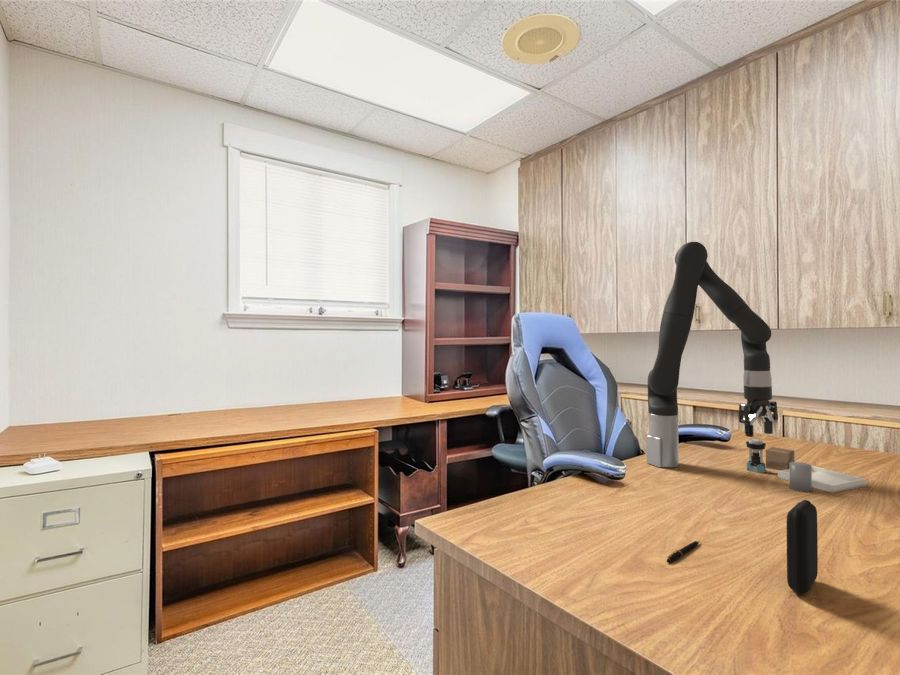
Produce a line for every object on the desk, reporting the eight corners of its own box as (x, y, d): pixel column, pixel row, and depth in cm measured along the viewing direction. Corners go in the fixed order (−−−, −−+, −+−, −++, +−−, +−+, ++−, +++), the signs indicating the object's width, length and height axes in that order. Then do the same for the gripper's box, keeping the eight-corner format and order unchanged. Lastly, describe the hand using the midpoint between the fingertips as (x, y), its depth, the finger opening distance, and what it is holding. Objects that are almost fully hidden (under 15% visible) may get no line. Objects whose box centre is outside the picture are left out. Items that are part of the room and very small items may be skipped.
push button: (772, 471, 148) (772, 440, 148) (769, 475, 144) (769, 443, 144) (747, 467, 152) (747, 437, 152) (744, 471, 148) (744, 440, 148)
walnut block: (787, 472, 147) (787, 453, 147) (765, 467, 152) (765, 449, 152) (794, 468, 151) (794, 450, 151) (773, 464, 156) (773, 446, 156)
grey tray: (832, 492, 128) (832, 485, 128) (777, 477, 142) (777, 470, 142) (866, 486, 133) (866, 479, 133) (810, 471, 147) (810, 465, 147)
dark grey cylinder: (803, 492, 128) (803, 467, 128) (785, 487, 133) (785, 463, 133) (815, 490, 130) (815, 465, 130) (797, 485, 135) (797, 461, 135)
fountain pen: (697, 542, 100) (696, 535, 100) (702, 544, 99) (702, 537, 99) (664, 563, 91) (663, 556, 91) (669, 566, 90) (669, 558, 90)
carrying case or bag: (800, 572, 86) (800, 493, 86) (821, 579, 84) (820, 498, 84) (784, 594, 79) (783, 508, 79) (806, 601, 77) (805, 513, 77)
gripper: (761, 382, 154) (763, 430, 154) (730, 384, 149) (732, 435, 149) (784, 384, 147) (786, 435, 147) (752, 387, 142) (754, 439, 142)
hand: (759, 435), depth 148 cm, fingers open, 8 cm apart
